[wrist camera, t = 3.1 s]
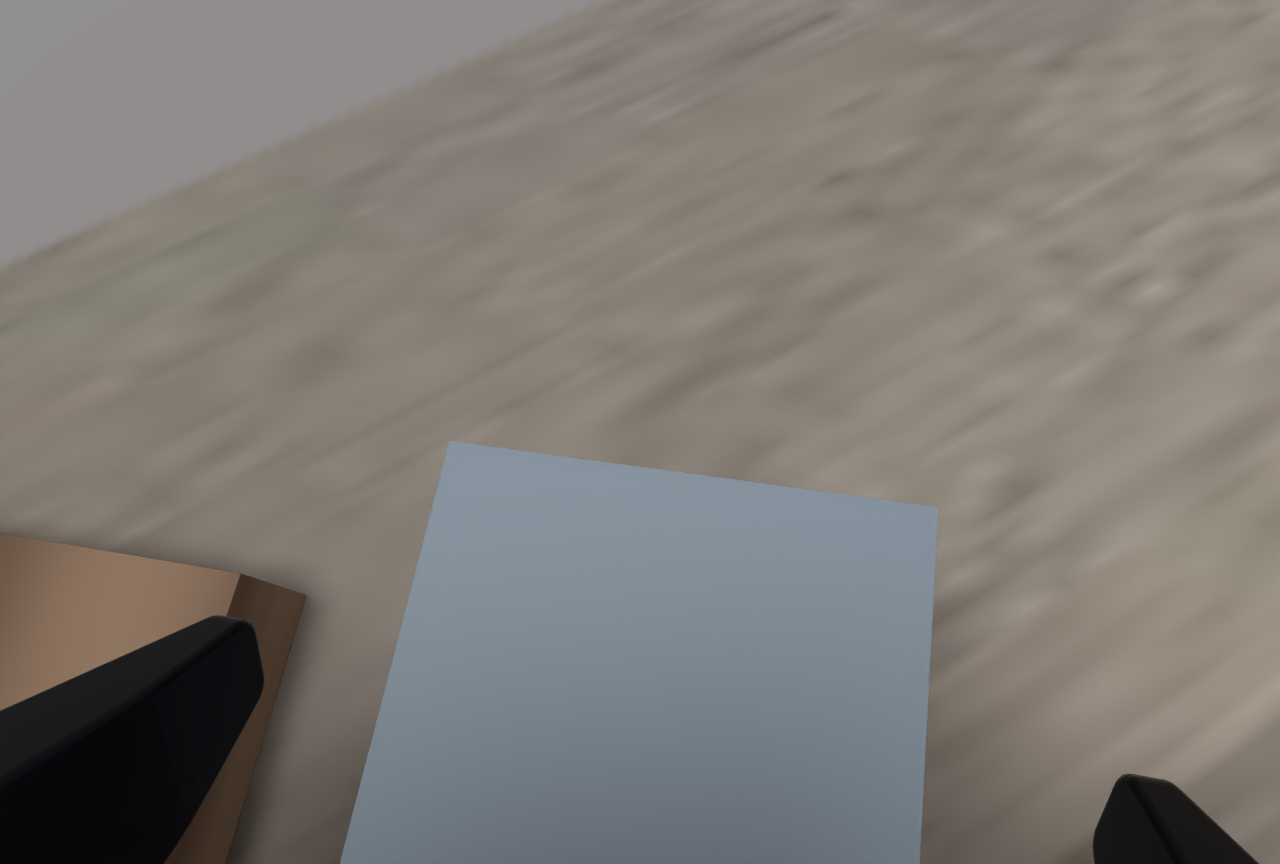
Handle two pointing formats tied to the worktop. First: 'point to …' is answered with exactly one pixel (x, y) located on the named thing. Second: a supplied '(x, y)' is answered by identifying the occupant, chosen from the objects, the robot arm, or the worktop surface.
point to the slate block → (652, 673)
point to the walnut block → (137, 643)
